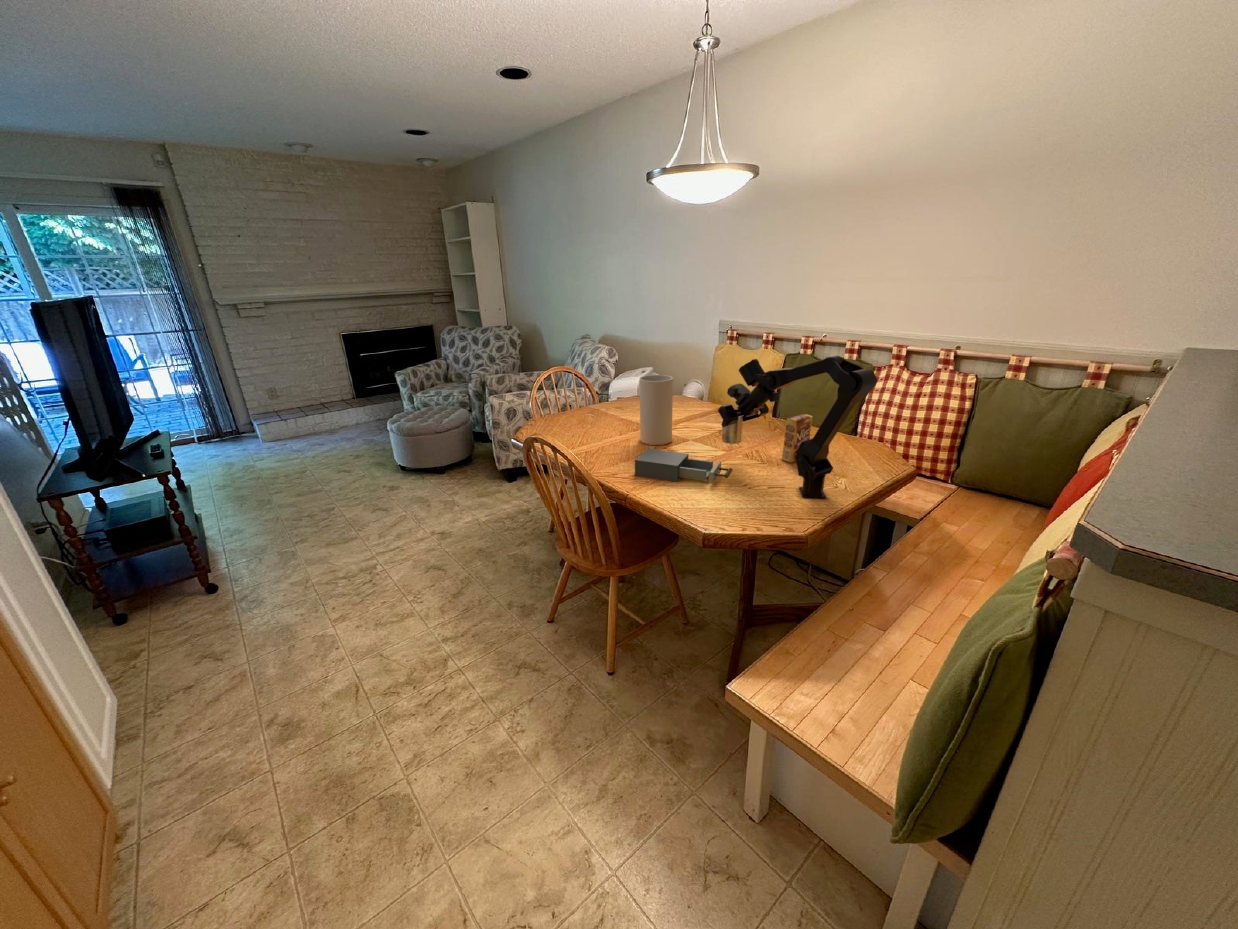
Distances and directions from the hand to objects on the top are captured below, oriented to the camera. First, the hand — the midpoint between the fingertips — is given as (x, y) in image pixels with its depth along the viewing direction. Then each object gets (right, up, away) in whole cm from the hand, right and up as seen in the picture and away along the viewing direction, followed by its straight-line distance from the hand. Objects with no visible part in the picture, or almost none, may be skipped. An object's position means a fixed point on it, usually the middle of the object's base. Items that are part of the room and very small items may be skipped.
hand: (729, 424), depth 162 cm
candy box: (+24, -12, +5) cm, 27 cm away
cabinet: (-23, -16, -3) cm, 29 cm away
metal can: (+1, -6, +1) cm, 6 cm away
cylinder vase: (-23, -4, +28) cm, 36 cm away
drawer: (-11, -17, -9) cm, 22 cm away
